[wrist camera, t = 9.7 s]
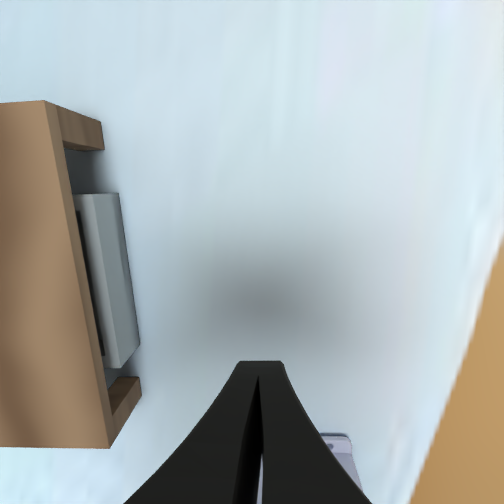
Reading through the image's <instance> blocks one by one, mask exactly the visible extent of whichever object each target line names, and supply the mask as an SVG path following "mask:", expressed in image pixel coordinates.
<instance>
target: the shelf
mask: <svg viewBox="0 0 504 504" xmlns="http://www.w3.org/2000/svg"><path fill="white" fill-rule="evenodd" d="M64 148H67V149H72V150H77V151H87V150H105V149H104V142H103V136H102V129H101V122H100V121H97V120H95V119H92V118H89V117H87V116H84V115H82V114H79V113H76V112H74V111H71V110H68V109H66V108H63V107H60V106H58V105H55V104H52V103H50V102H47V101H45V100H40V101H26V102H11V103H0V447H31V448H95V449H110V447H111V446H112V444H113V442H114V441H115V439H116V437H117V436H118V434H119V432H120V431H121V429H122V427H123V426H124V424H125V422H126V421H127V419H128V418H129V416H130V414H131V413H132V411H133V409H134V408H135V406H136V404H137V403H138V401H139V399H140V398H141V396H142V394H141V388H140V381H139V377H118V378H117V379H116V380H115V382H114V383H113V384H112V385H111V387H110V388H109V389H108V390H107V385H106V380H105V374H104V369H103V363H102V358H101V352H100V347H99V341H98V336H97V330H96V325H95V319H94V314H93V308H92V302H91V297H90V291H89V286H88V280H87V275H86V269H85V264H84V258H83V253H82V247H81V242H80V236H79V231H78V225H77V219H76V214H75V208H74V203H73V197H72V192H71V186H70V181H69V175H68V170H67V164H66V159H65V153H64Z"/></svg>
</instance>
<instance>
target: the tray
mask: <svg viewBox="0 0 504 504" xmlns="http://www.w3.org/2000/svg"><path fill="white" fill-rule="evenodd" d="M72 197H73V203H74V208H75V214H76V219H77V225H78V231H79V236H80V242H81V247H82V253H83V258H84V264H85V269H86V275H87V280H88V286H89V291H90V297H91V302H92V308H93V314H94V319H95V325H96V330H97V336H98V341H99V347H100V352H101V358H102V363H103V368H121V367H122V366H123V365H124V363H125V362H126V361H127V360H128V358H129V357H130V356H131V355H132V354H133V352H134V351H135V350H136V349H137V347H138V346H139V345H140V340H139V333H138V326H137V319H136V312H135V305H134V298H133V291H132V284H131V277H130V270H129V263H128V256H127V250H126V243H125V236H124V229H123V222H122V215H121V208H120V201H119V194H118V193H104V194H81V195H72Z"/></svg>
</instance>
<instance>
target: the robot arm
mask: <svg viewBox="0 0 504 504" xmlns="http://www.w3.org/2000/svg"><path fill="white" fill-rule="evenodd" d="M327 444H330V445H327ZM123 504H372V503H371V502H370V501H369V499H368V498H367V497H366V496H365V494H364V493H363V489H362V486H361V483H360V480H359V476H358V473H357V470H356V467H355V463H354V460H353V457H352V445H351V441H350V439H349V438H347V437H344V436H320V434H319V433H318V431H317V429H316V428H315V426H314V425H313V423H312V422H311V420H310V418H309V417H308V415H307V413H306V411H305V410H304V408H303V406H302V404H301V403H300V401H299V399H298V397H297V395H296V393H295V391H294V389H293V387H292V385H291V383H290V381H289V378H288V376H287V373H286V371H285V367H284V364H283V363H282V362H281V361H240V362H239V363H238V364H237V365H236V367H235V369H234V370H233V372H232V374H231V376H230V377H229V379H228V381H227V382H226V384H225V385H224V387H223V389H222V390H221V392H220V393H219V394H218V396H217V397H216V399H215V400H214V402H213V403H212V405H211V406H210V408H209V409H208V410H207V412H206V413H205V414H204V416H203V417H202V418H201V419H200V421H199V422H198V423H197V425H196V426H195V427H194V428H193V430H192V431H191V432H190V434H189V435H188V436H187V437H186V438H185V440H184V441H183V442H182V443H181V444H180V446H179V447H178V448H177V449H176V450H175V451H174V452H173V454H172V455H171V456H170V457H169V458H168V459H167V460H166V461H165V462H164V463H163V464H162V466H161V467H160V468H159V469H158V470H157V471H156V472H155V473H154V474H153V475H152V476H151V477H150V478H149V479H148V480H147V481H146V482H145V483H144V484H143V485H142V486H141V487H140V488H139V489H138V490H137V491H136V492H135V493H134V494H133V495H132V496H131V497H130V498H129V499H128V500H127V501H126V502H125V503H123Z"/></svg>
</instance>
